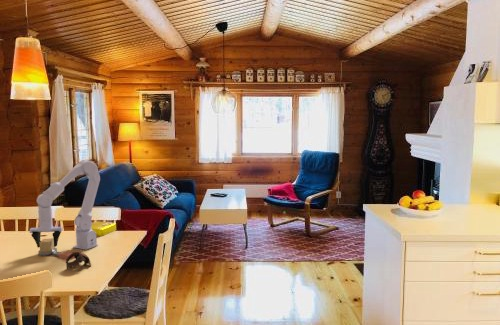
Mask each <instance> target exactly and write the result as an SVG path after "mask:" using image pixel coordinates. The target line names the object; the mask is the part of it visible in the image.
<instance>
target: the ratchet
mask: <svg viewBox="0 0 500 325" xmlns="http://www.w3.org/2000/svg"><path fill="white" fill-rule="evenodd" d="M72 253H73V252H69V251H63V252H62V251H61V252H60V251H58V249H57V247H55V249H54V250H52V251H51V252H40V249H39V250H38V256H39V257H49V256H53V257H56V258H61V259H65V258H67V257H68V256H69V255H70V254H72ZM71 260H75V258H74V256H73V257H72V258H71Z"/></svg>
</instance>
